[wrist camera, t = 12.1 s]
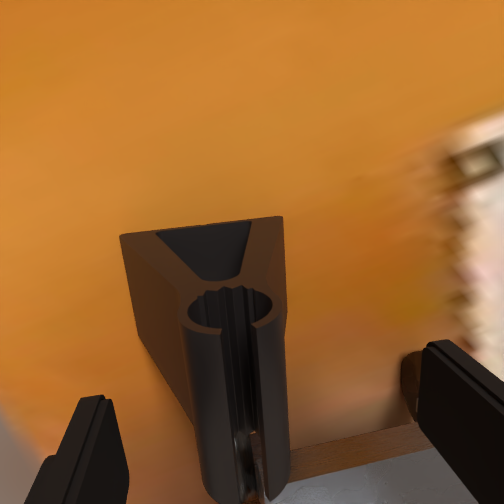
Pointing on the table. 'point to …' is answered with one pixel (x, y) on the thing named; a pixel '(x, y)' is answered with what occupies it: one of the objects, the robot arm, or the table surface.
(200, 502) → the table surface
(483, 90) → the table surface
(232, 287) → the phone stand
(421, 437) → the trolley
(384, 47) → the table surface
